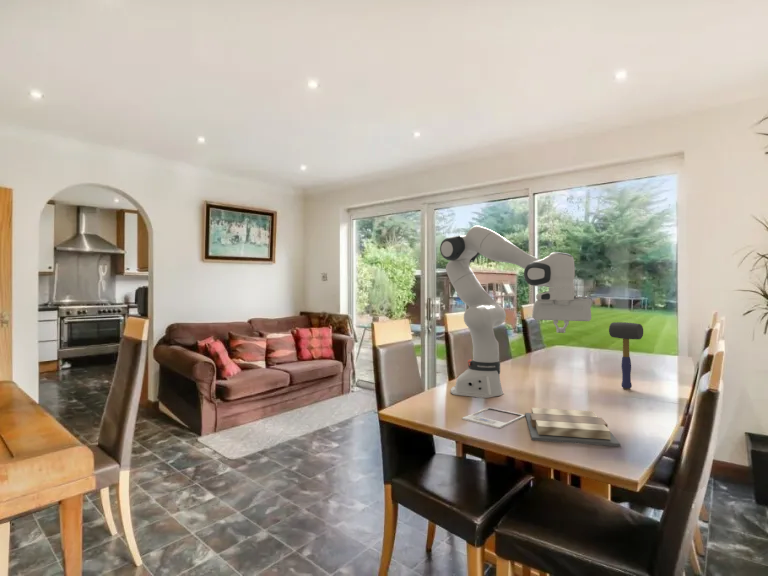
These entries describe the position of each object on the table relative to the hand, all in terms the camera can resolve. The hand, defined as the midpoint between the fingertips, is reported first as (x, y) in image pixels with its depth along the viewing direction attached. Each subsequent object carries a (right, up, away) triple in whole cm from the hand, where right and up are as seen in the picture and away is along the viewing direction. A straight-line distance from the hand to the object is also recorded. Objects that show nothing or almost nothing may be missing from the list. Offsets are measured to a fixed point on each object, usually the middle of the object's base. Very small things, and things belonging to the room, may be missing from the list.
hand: (560, 332), depth 156 cm
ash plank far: (-5, -28, -13) cm, 32 cm away
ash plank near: (-8, -28, -28) cm, 40 cm away
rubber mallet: (+43, -29, +32) cm, 61 cm away
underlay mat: (-6, -29, -21) cm, 36 cm away
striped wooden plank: (-6, -29, -21) cm, 36 cm away
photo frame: (-27, -30, -8) cm, 41 cm away
